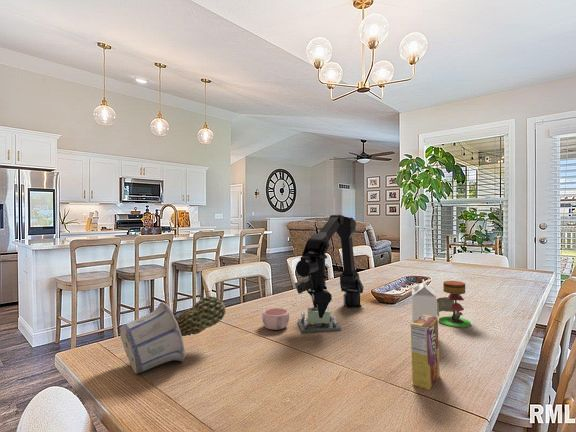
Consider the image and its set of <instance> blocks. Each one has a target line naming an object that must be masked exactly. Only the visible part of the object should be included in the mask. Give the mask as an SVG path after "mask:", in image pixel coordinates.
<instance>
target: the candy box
mask: <svg viewBox="0 0 576 432" xmlns="http://www.w3.org/2000/svg"><path fill="white" fill-rule="evenodd" d="M410 343H411V348H410V349H411V370H412V371H411V372H412V373H411V374H412V386H415V387H418V388H421V389H424V390H427V391H430V389H431V388H432V387H433V386H434V384H435V383H436V381H437V380H438V379H439V377H440V376H441V373H440V371H441V369H440V367H441V366H440V346H439V343H440V342H439V317H438V316H437V317H434V316H428V315H422V316H420V317H419V318H418V319H417V320H415V321H414V322H413V323H412V322H411V323H410Z"/></svg>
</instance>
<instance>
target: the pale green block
mask: <svg viewBox="0 0 576 432" xmlns="http://www.w3.org/2000/svg"><path fill="white" fill-rule="evenodd" d="M330 311H331V310H330V308H329V307H327V309H326V311H325V313H324V315H323V318H319V314H318V308H317V307H314V306H311V307H307V319H308V323H330Z"/></svg>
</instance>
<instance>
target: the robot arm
mask: <svg viewBox="0 0 576 432" xmlns="http://www.w3.org/2000/svg"><path fill="white" fill-rule="evenodd" d="M356 226H357V222H356V220H355V219H354V218H353V217H348V216H345V215H342V214H330V216H329V219H327V221H326V223H324V225H323V226H322V228H321V229H320V230H319V232H318V233H315V234H313V235H311V236H310V237H309V238H308V239H307V241H306V242H305V245H304V248H303V252H302V255H301V256H300V260H299V261H298V262H297V263H296V265H295V271H296V273H297V275H299V276H300V277H301V278H304V279H301V280H299V281H296V282H294V287H295V289H296V292H297V293H298V295H300V294H303V292H307V293H308V294H309V296H310V297H311V301H312V305H313V306H312V307H317V308H318V314H319V318H323V315H324V313H325V311H326V309H327V308H328V307H329V305H330V303H331V301H332V300H333V298H332V297H333V295H332V294H331V293H330V291H329V290H328V286H327V285H326V284H327V282H326V279H327V278H328V277H327V274H326V259H327V258H328V256H327V255H326V253H327V251H328V250H329V248H330V241H331V238H332V237H334V236H333V235H334V234H335V233H336V234H337V235H338V237H339V238H340V244H341V246H340V247H341V255H342V256H341V257H342V267H343V271H342V273H341V274H340V276H339V286H340V289H341V292H344V294H343V305H344V306H345V307H346V308H361V307H362V306H363V305H362V304H361V294H363V293H364V285H363V283H362V281H361V278H360V275H359V272H357V270H356V269H355V257H354V256H355V255H354V246H353V243H354V242H353V236H354V234H355V232H356ZM305 277H307V278H305Z"/></svg>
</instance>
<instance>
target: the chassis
mask: <svg viewBox="0 0 576 432" xmlns="http://www.w3.org/2000/svg"><path fill="white" fill-rule="evenodd" d="M329 311H330V323H308V318H306V313H305V311H303V312H300V318H299V319H297V323H298V325H299V328H300V331H301V333H317V332H332V331H333V332H334V331H342V327H341V326H340V325H339V323H338V322H337V317H336V316H332V315H333V314H332V310H329Z"/></svg>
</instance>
